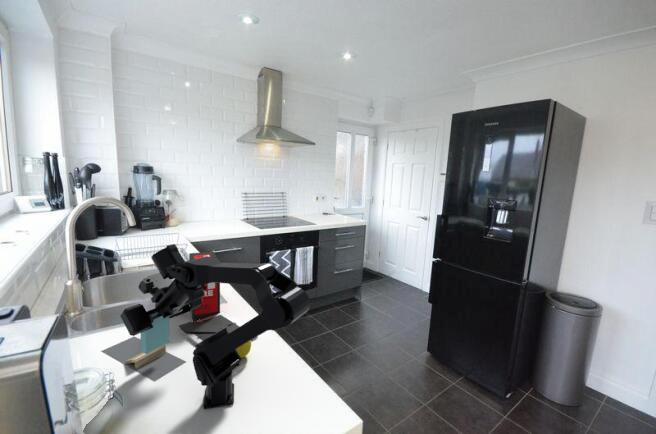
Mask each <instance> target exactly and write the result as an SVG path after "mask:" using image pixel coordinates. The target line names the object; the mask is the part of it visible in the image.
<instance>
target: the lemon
mask: <svg viewBox="0 0 656 434" xmlns="http://www.w3.org/2000/svg"><path fill="white" fill-rule="evenodd" d="M251 348H252V340H250V341H249V342H247V343H245V344H243V345H242V346H240V347H238V348H237V349H236V351H237V352H238V354H239V356H240V357H241V359H242V358H244V357H246V356H248V355H249V353H250V351H251Z"/></svg>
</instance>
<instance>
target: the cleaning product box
mask: <svg viewBox="0 0 656 434" xmlns="http://www.w3.org/2000/svg"><path fill="white" fill-rule="evenodd" d="M188 256H189V260H194V259H198V258H202V257H206V256H208V257H212V258H216V259H218V257H217V255H216V253H215V251H203V252H192V253H189V254H188ZM189 260H188V261H189ZM200 286H201V287H202V288H203V291H204V296H203V297H202V304H201V305H200V306H199V307H198V308H195V309H193V310H192V311H191V316H192V321H198V320H201V319H204V318H207V317H210V316H212V315H215V314H218V313H221V283H208V284H204V285H200Z"/></svg>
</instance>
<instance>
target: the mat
mask: <svg viewBox="0 0 656 434" xmlns="http://www.w3.org/2000/svg"><path fill="white" fill-rule="evenodd" d="M101 352H102V353H103V354H105V355H107V356H109V357H110V358H112V359H114V360H116V361H118V362H119V363H121V364H123V365H124V366H127V367H128V368H130V369H132V370H133V371H135V372H136V373H138V374H141V375H142V376H144V377H146V378H147V379H149V380H151V381H152V382H157V380H158V381H159V380H160V379H161V378H163V377H164V376H166V375H167V374H170V373H171V372H173V371H174V370H177V368H179V367H181V366H183V365H184V364H186V363H187V361H186V360H184V359H182V358H180V357H178V356H175V355H174V354H171V353H169V352H168V351H166V353H165V354H164V355H162V356H160V357H158V358H156V359H154V360H153V361H151V362H149V363H147V364H145V365H143V366H142V367H140V368H138V369H136V368H135V362H133V363H128V364H127V363H126V361H127V360H129V359H131V358H133V357H135V356H137V355H139V354H141V353H143V352H141V338H139V337H136V336H132V337H130V338H127V339H124V340H123V341H120V342H119V343H118V342H117V343H116V344H114V345H112V346H109V347H106V348H105V349H103V350H101Z"/></svg>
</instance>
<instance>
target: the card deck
mask: <svg viewBox="0 0 656 434" xmlns="http://www.w3.org/2000/svg"><path fill="white" fill-rule="evenodd" d="M158 314H159V313H158ZM155 315H156V314H155ZM153 316H154V315H153ZM152 325H153V328H151V329H149V330H147V331H144V332H141V333H140V339H141V352H143V353H145V354H147V353H149V352H151V351H153V350H155V349H157V348H159V347H161V346H163V345H165V346H166V345H167V344H168V343H170V342H171V336H170V335H171V334H170V333H171V332H170V329H171V328H170V318H169V317H167V318H165V319H164V318H163V316H162V317H159V318H157V319H154V321H153V323H152Z"/></svg>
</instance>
